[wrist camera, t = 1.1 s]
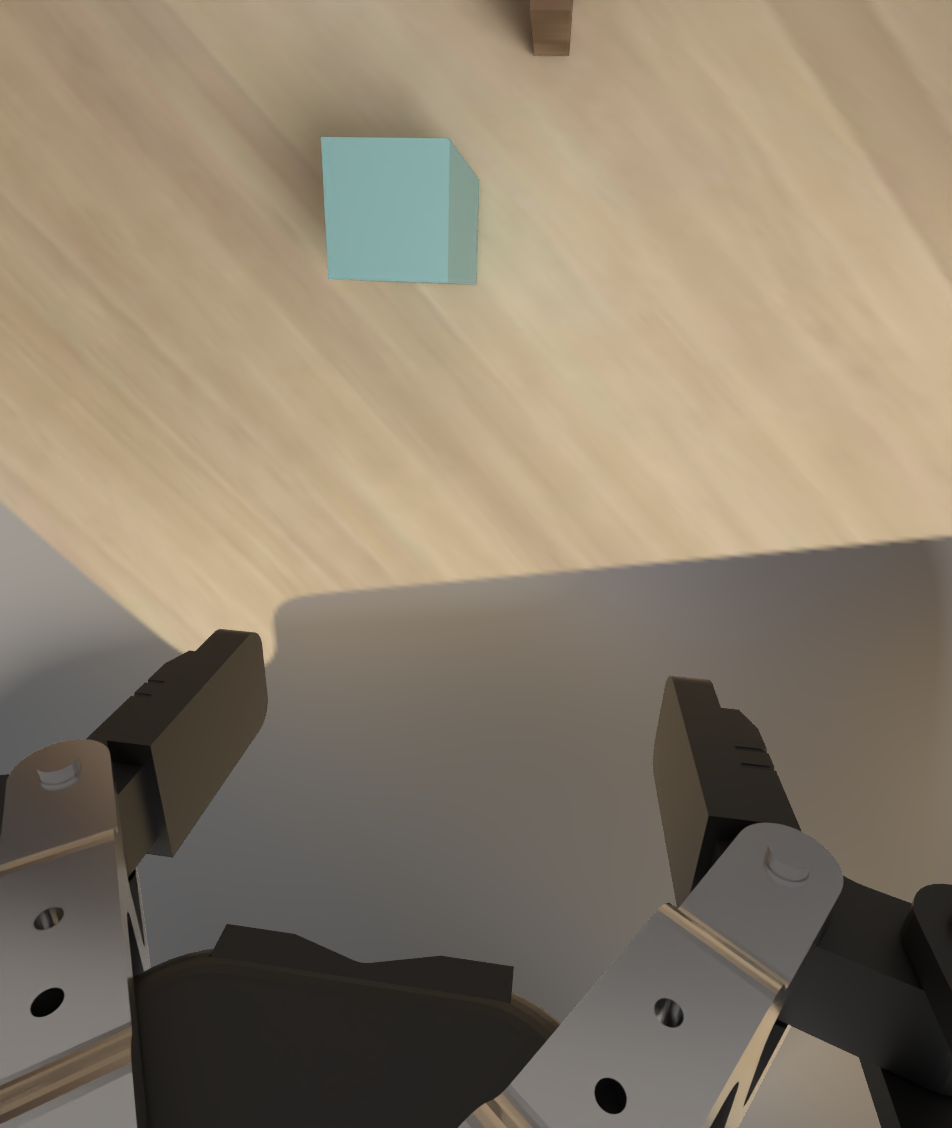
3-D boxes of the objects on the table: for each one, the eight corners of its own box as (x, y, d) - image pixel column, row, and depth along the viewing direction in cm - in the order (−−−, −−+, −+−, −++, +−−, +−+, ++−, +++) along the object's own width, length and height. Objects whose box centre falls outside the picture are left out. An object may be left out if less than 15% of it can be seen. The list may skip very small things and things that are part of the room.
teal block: (479, 179, 30) (449, 138, 22) (476, 284, 32) (447, 282, 24) (384, 177, 31) (320, 136, 23) (386, 281, 33) (328, 278, 24)
